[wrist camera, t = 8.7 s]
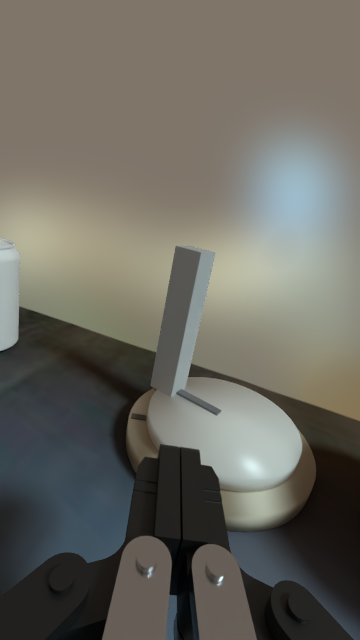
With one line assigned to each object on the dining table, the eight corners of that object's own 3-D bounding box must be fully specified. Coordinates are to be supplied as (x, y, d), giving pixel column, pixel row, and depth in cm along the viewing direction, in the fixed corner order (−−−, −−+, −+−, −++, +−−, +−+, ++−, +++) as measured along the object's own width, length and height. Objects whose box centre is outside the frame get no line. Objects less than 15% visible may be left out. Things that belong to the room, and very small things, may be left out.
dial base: (107, 514, 19) (109, 495, 19) (137, 383, 35) (139, 370, 34) (349, 546, 21) (358, 528, 20) (276, 405, 36) (280, 393, 35)
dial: (107, 420, 25) (131, 243, 21) (190, 371, 36) (218, 247, 31) (268, 530, 19) (354, 306, 14) (312, 430, 29) (369, 284, 25)
